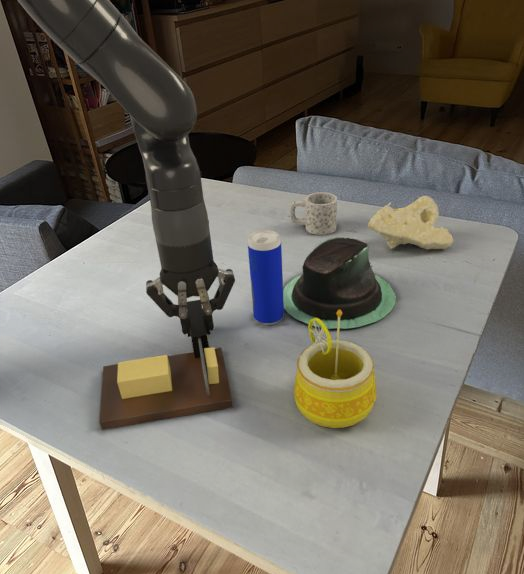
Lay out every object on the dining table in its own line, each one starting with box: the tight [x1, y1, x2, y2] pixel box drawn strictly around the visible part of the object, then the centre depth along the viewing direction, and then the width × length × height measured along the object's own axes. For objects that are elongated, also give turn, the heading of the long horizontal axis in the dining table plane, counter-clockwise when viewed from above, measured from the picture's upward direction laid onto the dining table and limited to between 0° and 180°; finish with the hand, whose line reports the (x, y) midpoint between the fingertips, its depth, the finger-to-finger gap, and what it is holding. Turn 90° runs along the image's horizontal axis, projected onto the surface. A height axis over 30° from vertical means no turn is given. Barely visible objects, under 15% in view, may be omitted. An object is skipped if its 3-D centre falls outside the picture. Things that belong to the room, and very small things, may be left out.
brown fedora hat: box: [283, 236, 397, 330], centre depth 92 cm, size 15×19×20 cm
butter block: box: [117, 354, 172, 399], centre depth 76 cm, size 7×4×3 cm, turn 101°
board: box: [98, 347, 234, 431], centre depth 77 cm, size 18×12×2 cm, turn 101°
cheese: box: [367, 195, 454, 250], centre depth 106 cm, size 15×7×15 cm
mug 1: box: [289, 191, 338, 236], centre depth 114 cm, size 10×7×7 cm, turn 77°
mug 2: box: [293, 310, 377, 429], centre depth 70 cm, size 13×11×12 cm
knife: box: [187, 299, 210, 396], centre depth 80 cm, size 19×2×4 cm, turn 11°
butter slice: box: [204, 346, 219, 384], centre depth 77 cm, size 2×4×3 cm, turn 11°
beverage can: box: [247, 229, 285, 326], centre depth 86 cm, size 5×5×15 cm
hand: (198, 332), depth 84 cm, fingers closed on knife, 2 cm apart
